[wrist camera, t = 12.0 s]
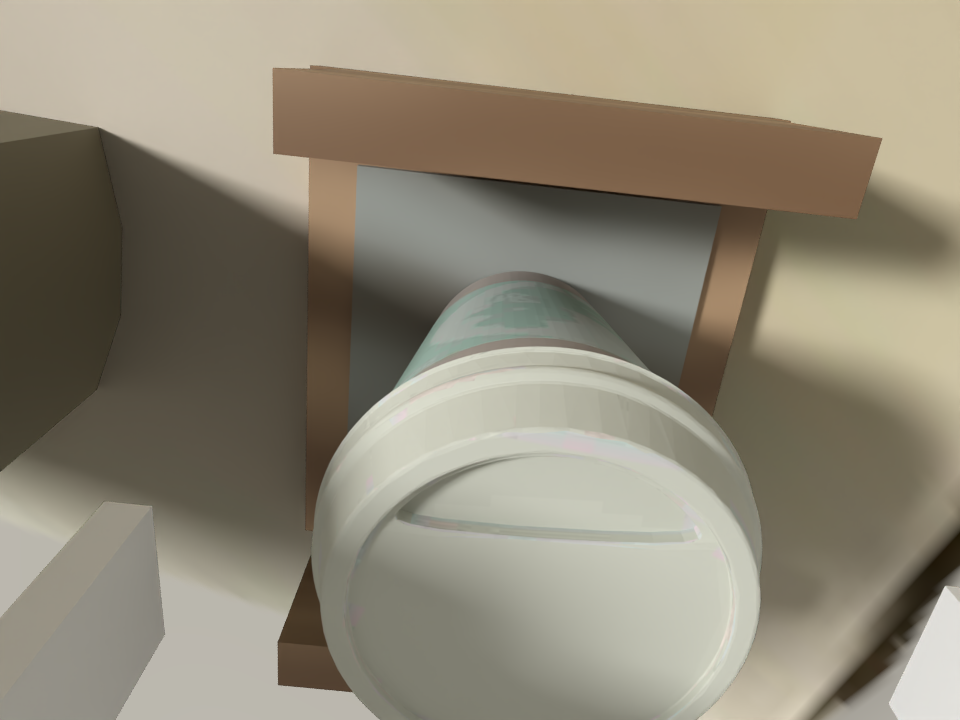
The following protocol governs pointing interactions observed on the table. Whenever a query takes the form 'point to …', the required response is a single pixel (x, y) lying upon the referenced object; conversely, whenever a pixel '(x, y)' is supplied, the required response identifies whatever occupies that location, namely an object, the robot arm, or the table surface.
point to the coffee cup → (535, 527)
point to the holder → (524, 234)
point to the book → (53, 273)
